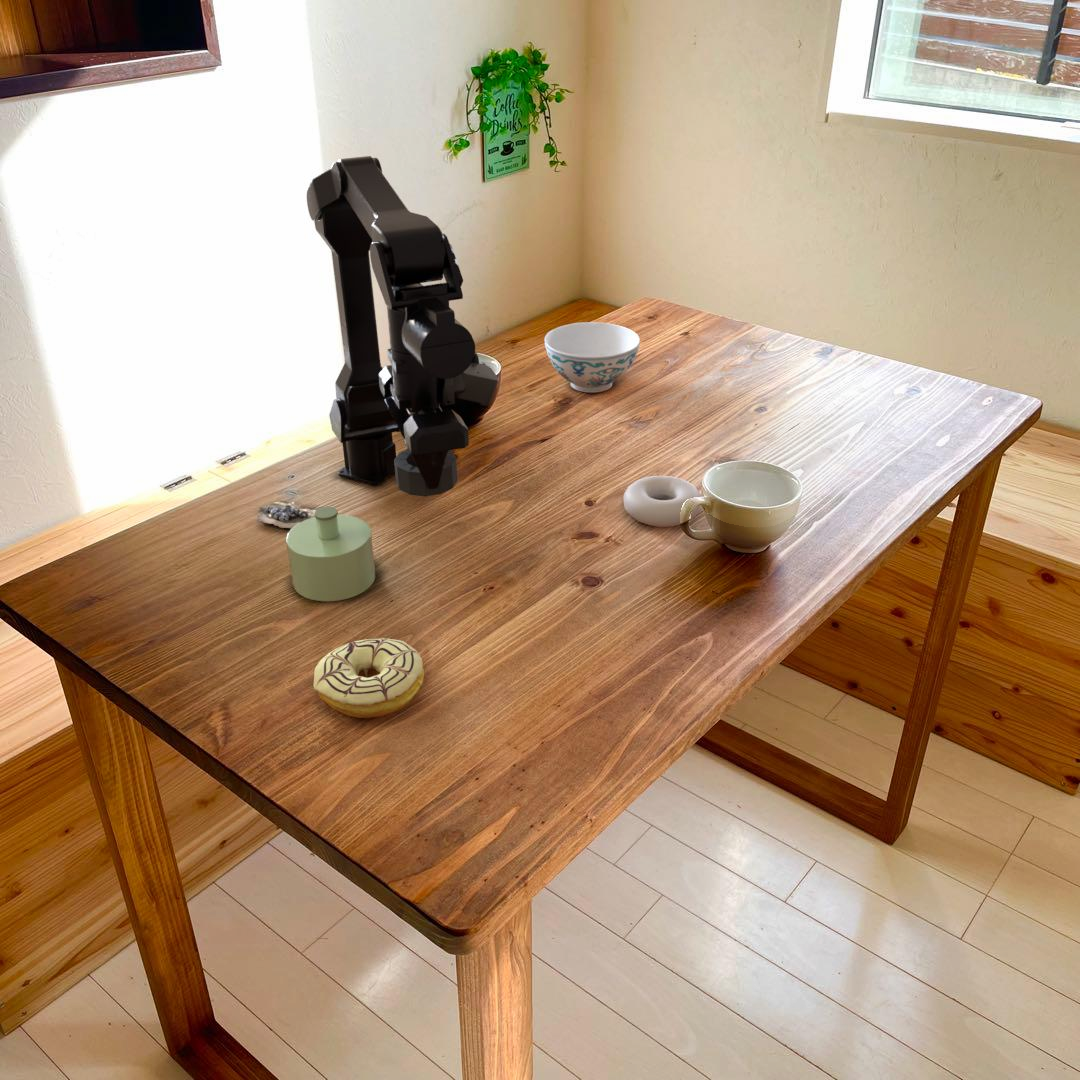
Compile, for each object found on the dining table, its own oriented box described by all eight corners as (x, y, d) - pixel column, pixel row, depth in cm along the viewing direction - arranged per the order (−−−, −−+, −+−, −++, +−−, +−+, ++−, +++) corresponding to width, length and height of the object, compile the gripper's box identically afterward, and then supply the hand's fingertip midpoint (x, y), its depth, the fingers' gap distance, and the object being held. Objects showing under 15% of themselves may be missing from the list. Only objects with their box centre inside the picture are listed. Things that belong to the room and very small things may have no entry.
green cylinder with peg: (275, 588, 128) (264, 521, 123) (326, 549, 135) (318, 484, 130) (342, 610, 124) (334, 541, 119) (391, 569, 131) (385, 502, 126)
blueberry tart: (263, 504, 145) (261, 491, 144) (324, 503, 145) (322, 490, 144) (252, 530, 139) (250, 517, 138) (316, 529, 139) (314, 516, 138)
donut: (617, 528, 139) (697, 535, 137) (618, 504, 137) (699, 510, 135) (628, 491, 147) (703, 496, 145) (628, 468, 145) (705, 473, 143)
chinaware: (641, 403, 171) (643, 356, 167) (544, 403, 171) (543, 357, 167) (635, 366, 184) (636, 321, 180) (545, 366, 184) (544, 322, 180)
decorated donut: (347, 651, 117) (343, 622, 115) (440, 670, 114) (438, 640, 112) (298, 711, 109) (293, 681, 107) (397, 734, 106) (394, 703, 104)
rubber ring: (388, 493, 124) (386, 469, 123) (407, 465, 130) (405, 442, 128) (447, 498, 123) (445, 475, 122) (463, 471, 129) (462, 448, 127)
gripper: (514, 367, 112) (517, 501, 120) (468, 308, 128) (473, 430, 136) (406, 381, 109) (417, 517, 118) (372, 319, 125) (384, 443, 133)
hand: (426, 474), depth 126 cm, fingers closed on rubber ring, 7 cm apart
